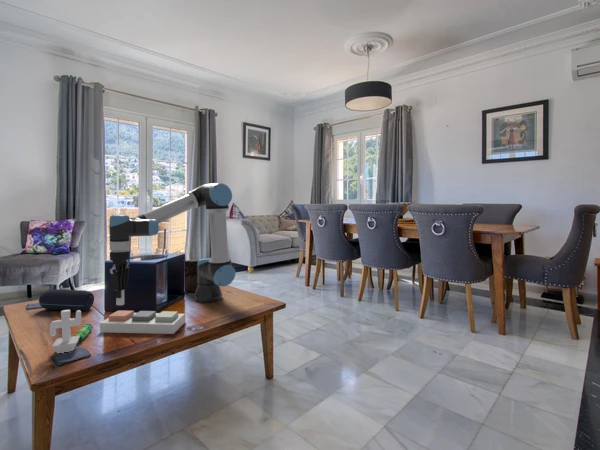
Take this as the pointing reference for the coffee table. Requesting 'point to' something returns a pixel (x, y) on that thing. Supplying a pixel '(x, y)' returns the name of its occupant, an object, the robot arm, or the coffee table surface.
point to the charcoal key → (144, 316)
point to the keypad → (142, 326)
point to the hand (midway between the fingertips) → (120, 304)
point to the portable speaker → (66, 300)
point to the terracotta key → (121, 315)
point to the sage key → (166, 316)
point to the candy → (84, 331)
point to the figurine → (65, 332)
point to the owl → (191, 276)
